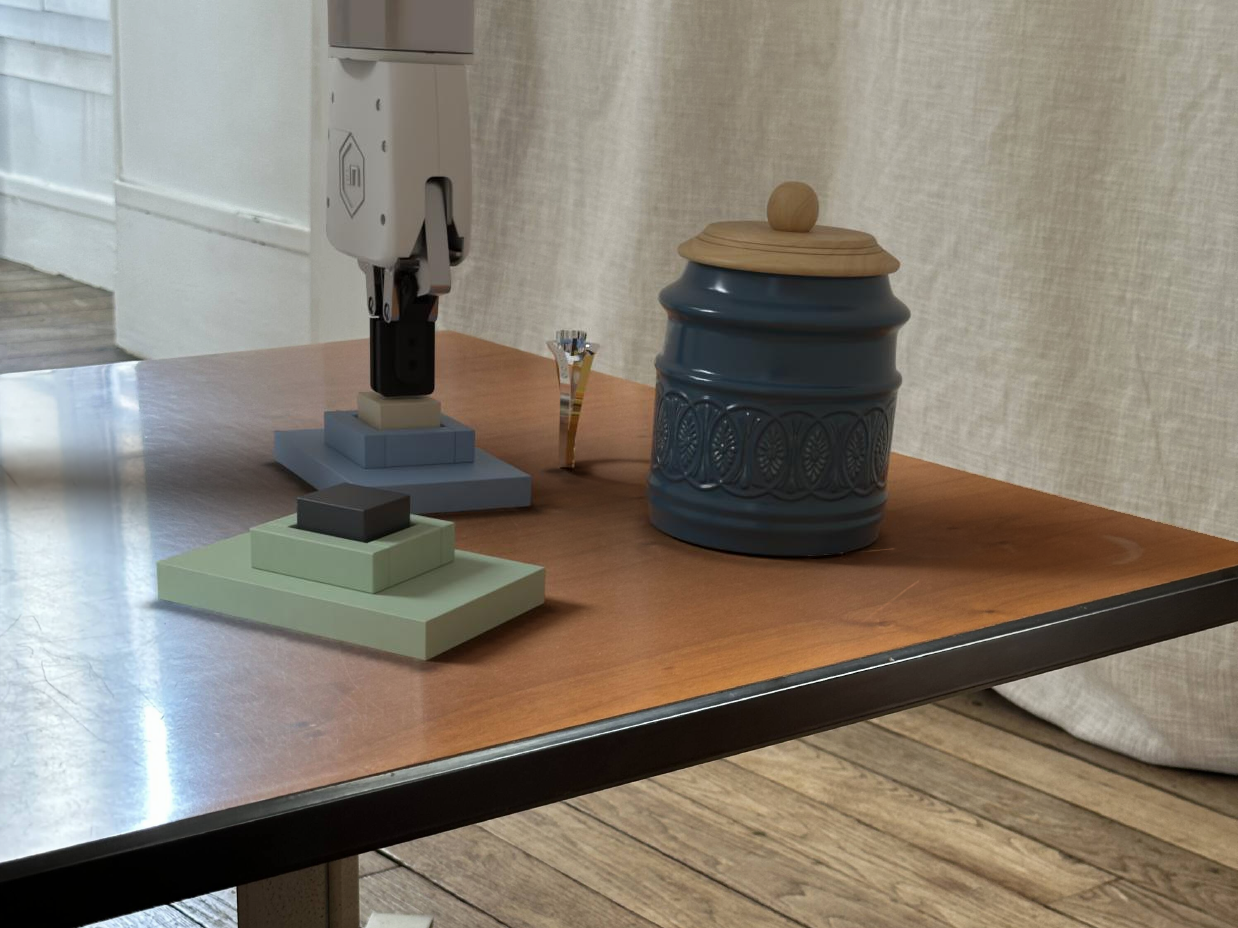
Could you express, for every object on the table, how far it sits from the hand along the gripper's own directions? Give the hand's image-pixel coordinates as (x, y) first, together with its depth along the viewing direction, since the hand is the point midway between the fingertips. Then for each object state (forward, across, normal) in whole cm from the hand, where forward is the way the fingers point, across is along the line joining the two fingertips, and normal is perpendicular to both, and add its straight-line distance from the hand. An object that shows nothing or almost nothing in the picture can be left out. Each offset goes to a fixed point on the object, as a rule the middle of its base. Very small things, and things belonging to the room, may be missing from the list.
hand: (402, 392), depth 97 cm
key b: (+2, 0, 0) cm, 2 cm away
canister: (+5, +14, +15) cm, 22 cm away
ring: (+5, -1, +11) cm, 12 cm away
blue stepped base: (+5, 0, 0) cm, 5 cm away
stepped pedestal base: (+5, +20, -10) cm, 23 cm away
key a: (+2, +20, -10) cm, 23 cm away
